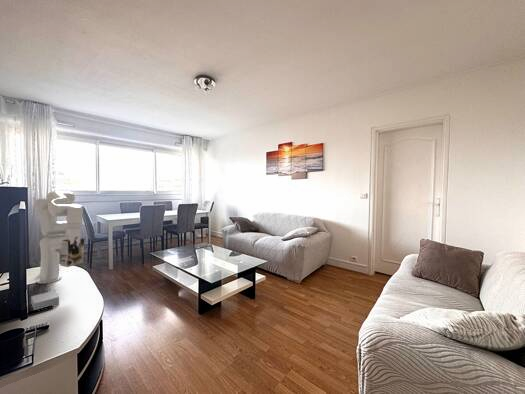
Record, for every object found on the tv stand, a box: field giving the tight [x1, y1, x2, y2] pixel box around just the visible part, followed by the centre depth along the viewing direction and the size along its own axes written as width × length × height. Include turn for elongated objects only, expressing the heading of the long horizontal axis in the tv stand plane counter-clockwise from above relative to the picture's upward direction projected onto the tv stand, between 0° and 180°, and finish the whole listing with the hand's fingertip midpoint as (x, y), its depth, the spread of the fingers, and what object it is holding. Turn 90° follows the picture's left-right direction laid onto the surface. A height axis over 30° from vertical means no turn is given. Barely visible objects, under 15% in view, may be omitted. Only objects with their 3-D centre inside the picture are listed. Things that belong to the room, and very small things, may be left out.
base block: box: [30, 290, 60, 310], centre depth 120 cm, size 11×10×5 cm
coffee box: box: [59, 237, 85, 268], centre depth 131 cm, size 9×6×16 cm
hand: (72, 252), depth 131 cm, fingers closed on coffee box, 8 cm apart
